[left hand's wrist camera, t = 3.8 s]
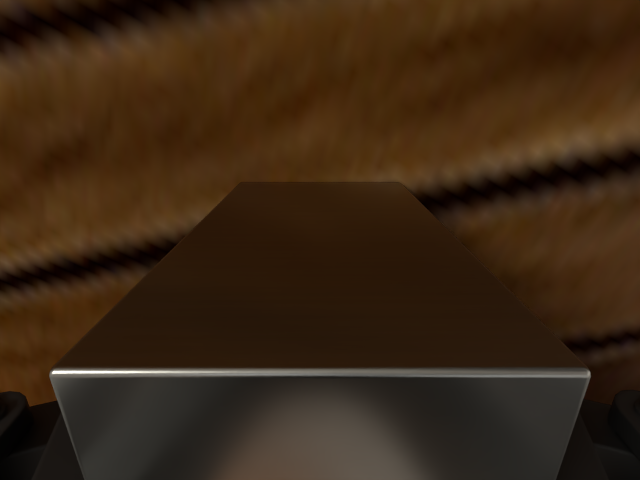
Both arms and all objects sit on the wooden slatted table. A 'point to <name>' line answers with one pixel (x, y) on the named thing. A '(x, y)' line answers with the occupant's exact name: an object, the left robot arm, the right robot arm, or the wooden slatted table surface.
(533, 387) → the box
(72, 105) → the wooden slatted table surface
